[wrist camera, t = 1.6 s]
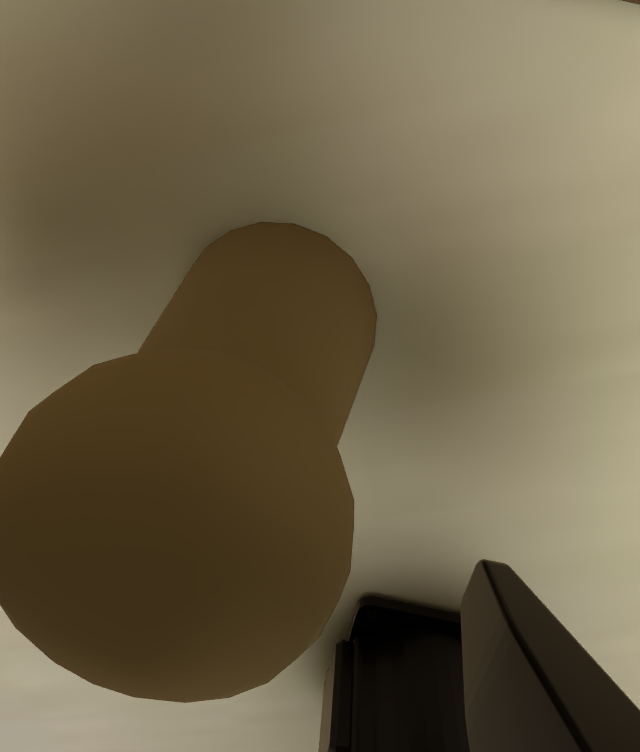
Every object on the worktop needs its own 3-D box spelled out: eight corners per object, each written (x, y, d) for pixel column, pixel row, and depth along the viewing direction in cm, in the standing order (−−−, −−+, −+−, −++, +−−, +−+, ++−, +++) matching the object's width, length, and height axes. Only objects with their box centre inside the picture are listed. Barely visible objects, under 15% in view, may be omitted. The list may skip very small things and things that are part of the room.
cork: (383, 406, 17) (402, 778, 7) (201, 417, 18) (-9, 770, 8) (368, 210, 15) (365, 366, 5) (159, 233, 16) (-213, 409, 6)
